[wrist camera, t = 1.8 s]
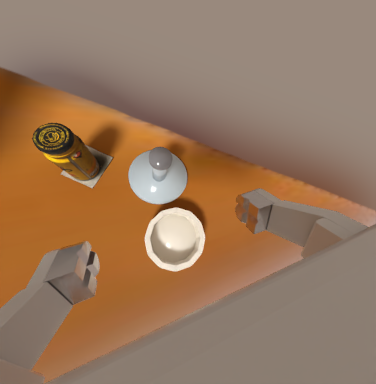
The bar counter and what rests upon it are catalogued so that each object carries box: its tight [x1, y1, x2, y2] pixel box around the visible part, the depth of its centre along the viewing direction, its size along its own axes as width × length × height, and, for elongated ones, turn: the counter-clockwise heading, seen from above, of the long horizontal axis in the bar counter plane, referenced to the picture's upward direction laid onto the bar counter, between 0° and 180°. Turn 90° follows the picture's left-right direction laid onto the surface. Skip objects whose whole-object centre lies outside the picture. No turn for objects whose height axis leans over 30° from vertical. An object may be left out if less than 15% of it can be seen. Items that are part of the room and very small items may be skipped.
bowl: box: [145, 208, 205, 271], centre depth 32 cm, size 12×12×4 cm
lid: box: [128, 147, 187, 204], centre depth 33 cm, size 14×14×10 cm
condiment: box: [32, 123, 113, 188], centre depth 29 cm, size 7×8×12 cm
